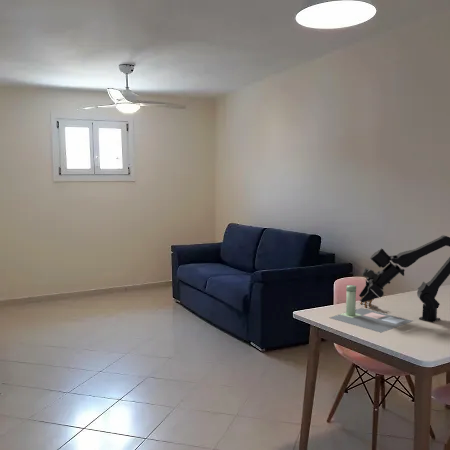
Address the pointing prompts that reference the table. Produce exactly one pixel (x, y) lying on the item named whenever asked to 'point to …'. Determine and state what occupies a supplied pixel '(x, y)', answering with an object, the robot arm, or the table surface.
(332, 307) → the table surface
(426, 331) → the table surface
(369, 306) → the lion figurine
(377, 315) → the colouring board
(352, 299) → the pale green cylinder
